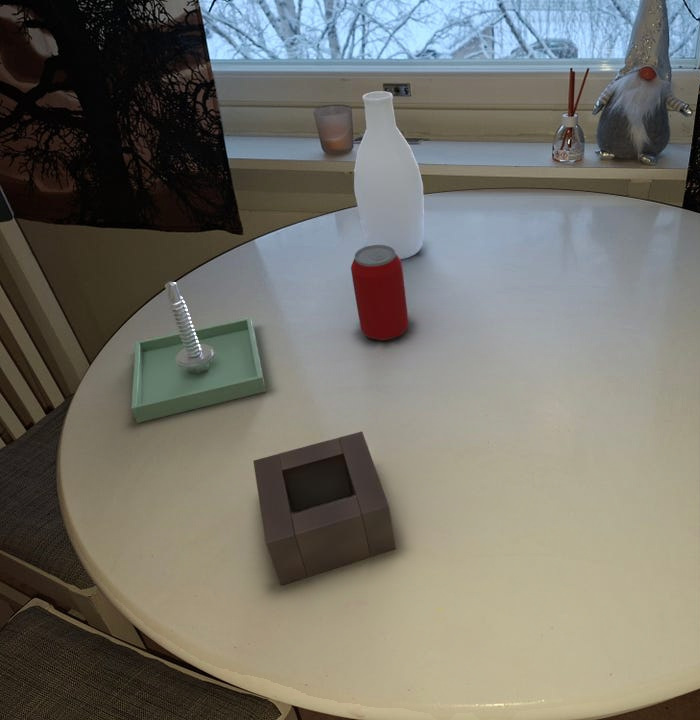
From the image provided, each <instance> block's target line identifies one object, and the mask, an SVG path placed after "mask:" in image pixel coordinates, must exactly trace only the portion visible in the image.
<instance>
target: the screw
mask: <svg viewBox="0 0 700 720" xmlns="http://www.w3.org/2000/svg"><path fill="white" fill-rule="evenodd" d="M164 288H165V291H166V294H167V296H168V301H169V303H168V305H169V310H171V314H172V318H174V320H173V321H174V322H175V326H177V327H176V329H177V330H178V333H179V334H181V335H180V337H181V338H182V339H181V341H183V345H185V346H184V349H182V350H181V351H180V352H179V353H178V354H177V356H176V358H175V361H176V364H177V365H178V366H179V367H182V368H188V371H189V372H190V373H195V374H200V373H202V372H204V371H206V370H208V369H209V362H210V361H211V360H212V359H213V358H214V356H215V351H214V349H213V347H211V346H209V345H205V344H199V342H198V340H197V337H196V333H195V330H194V329H195V328H194V325H193V321H192V318H191V317H190V313H189V310H188V307H187V305H186V301H185V300H184V297H182V296H181V294H180V290H179V288H178V284H177V282H175V281H168V282H166V283H165V284H164Z"/></svg>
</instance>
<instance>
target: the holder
mask: <svg viewBox="0 0 700 720" xmlns="http://www.w3.org/2000/svg"><path fill="white" fill-rule="evenodd" d="M252 463H253V469H254V475H255V482H256V489H257V495H258V501H259V508H260V515H261V522H262V528H263V533H264V542H265V546H266V549H267V552H268V554H269V557H270V561H271V563H272V566H273V569H274V572H275V574H276V577H277V581H278V583H279V586H283V585H287V584H290V583H293V582H296V581H298V580H299V581H300V580H302V579H305V578H307V577H311V576H315V575H318V574H321V573H325V572H326V571H330V570H332V569H336V568H340V567H342V566H346V565H349V564H352V563H355V562H358V561H361V560H364V559H367V558H371V557H375V556H377V555H380V554H381V555H382V554H385V553H386V552H390V551H393V550H396V549H397V545H396V540H395V534H394V527H393V522H392V517H391V509H390V505H389V502H388V500H387V497H386V494H385V492H384V489H383V486H382V483H381V480H380V477H379V474H378V471H377V469H376V466H375V464H374V460H373V458H372V455H371V452H370V450H369V446H368V443H367V441H366V438H365V435H364V432H363V431H358V432H353V433H351V434H347V435H343V436H339V437H336V438H332V439H329V440H324V441H321V442H317V443H314V444H313V443H312V444H310V445H306V446H302V447H298V448H294V449H291V450H287V451H283V452H280V453H277V454H272V455H269V456H265V457H261V458H258V459H254V460H253V461H252ZM348 496H349V497H348ZM342 498H343V499H342ZM338 499H340V500H338ZM335 500H336V501H335ZM332 501H334V502H332ZM329 502H331V503H329ZM322 504H323V505H322ZM318 505H320V506H318ZM315 506H316V507H315ZM311 507H313V508H311ZM308 508H310V509H308ZM304 509H305V510H304ZM301 510H303V511H301ZM297 511H299V512H297Z"/></svg>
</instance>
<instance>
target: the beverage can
mask: <svg viewBox="0 0 700 720" xmlns="http://www.w3.org/2000/svg"><path fill="white" fill-rule="evenodd" d="M353 256H354V257H353V260H352V263H351V267H350V271H351V277H352V284H353V290H354V296H355V303H356V309H357V315H358V320H359V325H360V330H361V333H362V334H363V335H365V336H366V337H368V338H371V339H375V340H378V341H379V340H380V341H386V340H387V341H388V340H391V339H394V338H397V337H399V336H400V335H402V334H404V332H406V330H407V329H408V327H409V315H408V305H407V304H408V303H407V296H406V295H407V294H406V287H405V279H404V278H405V277H404V271H403V263H402V259H399V257H398V256H397V255H396V253H395V250H394V249H393V248H391V247H389V246H385V245H371V246H368V245H366V246H363V247H361V248H360V249H358V250H356V252H355V253H354V255H353Z"/></svg>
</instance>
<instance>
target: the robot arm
mask: <svg viewBox="0 0 700 720" xmlns="http://www.w3.org/2000/svg"><path fill="white" fill-rule="evenodd" d="M14 216H15V214H14V211H13V209H12V207H11V205H10V203H9V201H8V198H7V197H6V194H5V192H4V190H3V188H2V186H1V185H0V223H6V222H11V221H13V219H14V218H15V217H14Z"/></svg>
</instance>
